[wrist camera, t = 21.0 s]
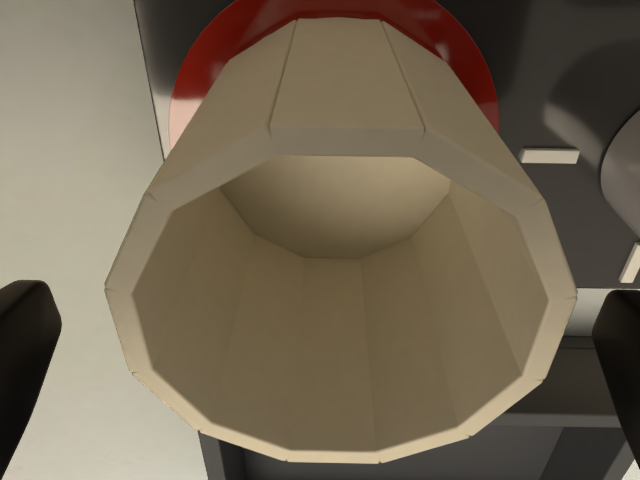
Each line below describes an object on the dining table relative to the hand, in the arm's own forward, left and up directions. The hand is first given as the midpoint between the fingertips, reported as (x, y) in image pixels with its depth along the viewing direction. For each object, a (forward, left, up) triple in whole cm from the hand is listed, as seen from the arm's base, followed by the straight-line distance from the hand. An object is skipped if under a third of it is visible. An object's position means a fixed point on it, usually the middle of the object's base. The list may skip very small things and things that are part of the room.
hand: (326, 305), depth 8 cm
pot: (0, 0, -6) cm, 6 cm away
